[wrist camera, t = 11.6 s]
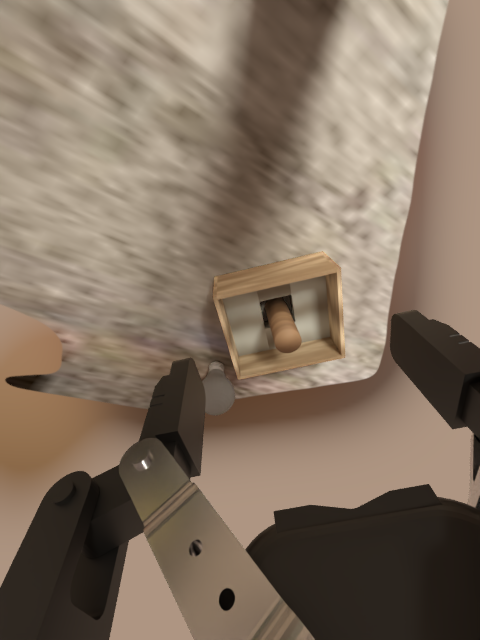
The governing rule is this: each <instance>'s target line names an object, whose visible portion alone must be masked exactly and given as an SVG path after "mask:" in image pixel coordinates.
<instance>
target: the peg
mask: <svg viewBox="0 0 480 640" xmlns="http://www.w3.org/2000/svg"><path fill="white" fill-rule="evenodd" d="M265 311H266V315H267V318H268V322H269V325H270V329H271V332H272V336H273V340H274V343H275V347H276V348H277V350H278V351H280V352H282V353H292V352H294V351H296V350H297V349H298V348H299V347H300V345H301V343H302V339H301V336H300V334H299V331H298V329H297V327H296V325H295V322H294V320H293V318H292V315H291V313H290V311H289V309H288V306H287V304H286V302H285V300H284V299H283V298H281V297H278V298H274V299H270V300H267V302H266V303H265Z"/></svg>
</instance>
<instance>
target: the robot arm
mask: <svg viewBox="0 0 480 640" xmlns="http://www.w3.org/2000/svg"><path fill="white" fill-rule="evenodd" d="M390 350H391V354H392V357H393V359H394V360H395V362H396V363H397V364H398V366H399V367H400V368H401V369H402V370H403V371H404V373H405V374H406V375H407V376H408V377H409V378H410V380H411V381H412V382H413V383H414V384H415V385H416V387H417V388H418V389H419V390H420V391H421V393H422V394H423V395H424V396H425V397H426V398H427V400H428V401H429V402H430V403H431V404H432V406H433V407H434V408H435V409H436V410H437V411H438V413H439V414H440V415H441V416H442V417H443V419H444V420H445V421H446V422H447V423H448V424H449V426H450V427H451V428H452V429H456V428H462V427H467V426H468V428H469V429H470V430H471V431H472V435H471V452H470V490H469V498H468V503H467V504H465V503H462V502H458V501H455V500H451V499H446V498H441V497H437V496H436V494H435V493H434V491H433V490H432V488H431V487H430V485H429V484H427V485H421V486H415V487H409V488H404V489H398V490H392V491H389V492H387V493H385V494H383V495H381V496H379V497H377V498H375V499H373V500H371V501H369V502H368V503H366V504H364V505H362V506H360V507H358V508H355V509H346V508H336V507H326V506H316V505H307V506H302V507H296V508H290V509H284V510H279V511H274V517H275V524H274V525H272V526H270V527H268V528H267V529H266V530H264V531H263V532H261V533H260V534H259V535H258V536H257V537H256V538H255V539H254V540H253V541H252V542H251V543H250V544H249V546H248V547H247V548H246V550H245V549H244V548H243V546H242V545H241V544H240V542H239V541H238V540H237V538H236V537H235V536H234V534H233V533H232V532H231V530H230V529H229V528H228V526H227V525H226V524H225V522H224V521H223V520H222V518H221V517H220V516H219V515H218V513H217V512H216V511H215V509H214V508H213V507H212V505H211V504H210V503H209V501H208V500H207V499H206V497H205V496H204V495H203V493H202V492H201V491H200V490H199V488H198V487H197V486H196V484H195V483H192V482H191V481H190V477H195V476H200V473H201V459H202V445H203V431H204V417H205V404H206V395H205V389H204V386H203V383H202V380H201V378H200V375H199V373H198V370H197V368H196V365H195V362H194V360H193V359H192V358H187V359H183V360H178V361H174V362H173V363H172V367H171V371H170V375H167V376H163V377H162V378H161V380H160V381H159V382H158V384H157V385H156V386H155V389H154V392H153V396H152V399H151V402H150V408H149V409H148V413H147V416H146V419H145V423H144V426H143V430H142V433H141V436H140V439H139V441H138V442H137V443H135V444H134V445H133V446H131V447H130V448H129V449H128V450H127V451H126V452H125V454H124V455H123V457H122V459H121V461H120V464H119V465H118V466H116V467H114V468H112V469H110V470H108V471H106V472H104V473H102V474H100V475H98V476H96V477H94V478H91V477H90V476H89V474H87V473H86V472H84V471H77V472H73V473H70V474H68V475H66V476H65V477H63V478H62V479H60V480H59V481H58V482H56V483H55V484H54V485H53V486H52V487H51V488H50V490H49V491H48V492H47V493H46V495H45V496H44V498H43V500H42V502H41V504H40V506H39V508H38V510H37V512H36V514H35V517H34V519H33V521H32V523H31V525H30V527H29V529H28V531H27V533H26V535H25V538H24V539H23V541H22V544H21V546H20V548H19V550H18V552H17V554H16V556H15V558H14V560H13V562H12V564H11V566H10V569H9V571H8V573H7V575H6V577H5V579H4V581H3V583H2V586H1V587H0V640H109V637H110V632H111V627H112V622H113V617H114V612H115V607H116V602H117V597H118V592H119V587H120V582H121V577H122V572H123V566H124V562H125V557H126V552H127V546H128V542H129V540H130V539H132V538H134V537H135V536H137V535H139V534H141V533H143V532H144V534H145V536H146V538H147V541H148V543H149V545H150V547H151V549H152V551H153V553H154V556H155V558H156V560H157V562H158V564H159V566H160V568H161V571H162V573H163V575H164V577H165V579H166V581H167V583H168V585H169V588H170V590H171V591H172V594H173V596H174V598H175V600H176V602H177V604H178V606H179V609H180V611H181V613H182V615H183V617H184V619H185V621H186V623H187V626H188V628H189V630H190V632H191V634H192V636H193V638H194V640H480V348H478V347H477V346H476V345H474V344H473V343H472V342H469V340H468V339H466V338H465V337H464V336H462V335H459V333H458V332H457V331H455V330H454V329H453V328H451V327H450V326H449V325H447V324H444V323H441V322H439V321H436V320H433V319H432V320H428V319H427V318H426V317H425V316H423V315H422V314H421V313H419V312H418V311H417V310H411V311H407V312H402V313H398V314H394V315H393V316H392V319H391V338H390Z"/></svg>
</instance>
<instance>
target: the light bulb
mask: <svg viewBox="0 0 480 640" xmlns="http://www.w3.org/2000/svg"><path fill="white" fill-rule="evenodd" d="M202 383H203V386H204V389H205V395H206V404H205V413H207V414H210V415H220V414H223V413H225V412H226V411H228V410H229V409H230V408H231V406H232V405H233V402H234V400H235V390H234V387H233V385H232V383H231V382H230V381H229V380H228V379H227V378H226V375H225V373H224V366H223V364H222V363H220V362H212V363H211V364H210V365H209V372H208V374H207V376H206V378H205V379H203V380H202Z"/></svg>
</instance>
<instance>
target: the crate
mask: <svg viewBox="0 0 480 640" xmlns="http://www.w3.org/2000/svg"><path fill="white" fill-rule="evenodd" d="M287 295H290V301H291V307H292V314H293V316H292V318H293V320H294V322H295V325H296V327H297V329H298V331H299V334H300V336H301V339H302V343H301V345H300V347H299V348H298V349H297V350H296V351H294V352H292V353H282V352H280V351H278V350H277V348H276V347H275V343H274V340H273V336H272V332H271V329H270V325H269V322H268V321H267V322H263V317H262V312H261V308H260V303H259V302H261V301H265V300H270V299H274V298H278V297H283V296H287ZM213 299H214V303H215V306H216V309H217V313H218V316H219V319H220V322H221V326H222V329H223V332H224V336H225V339H226V342H227V345H228V349H229V352H230V355H231V359H232V362H233V365H234V368H235V372H236V375H237V378H238V380H240V379H245V378H250V377H255V376H259V375H264V374H269V373H274V372H278V371H283V370H288V369H293V368H298V367H302V366H307V365H312V364H317V363H321V362H326V361H331V360H336V359H341V358H345V343H344V323H343V303H342V283H341V267H339V266H338V265H337V264H336V263H335V262H334V261H333V260H332V259H331V258H330V257H329V256H328V255H327V254H325V253H324V252H323V251H322V252H318V253H314V254H309V255H305V256H301V257H297V258H292V259H288V260H284V261H280V262H275V263H271V264H267V265H263V266H258V267H254V268H250V269H246V270H241V271H237V272H233V273H229V274H224V275H220V276H216V277H214V288H213Z"/></svg>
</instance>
